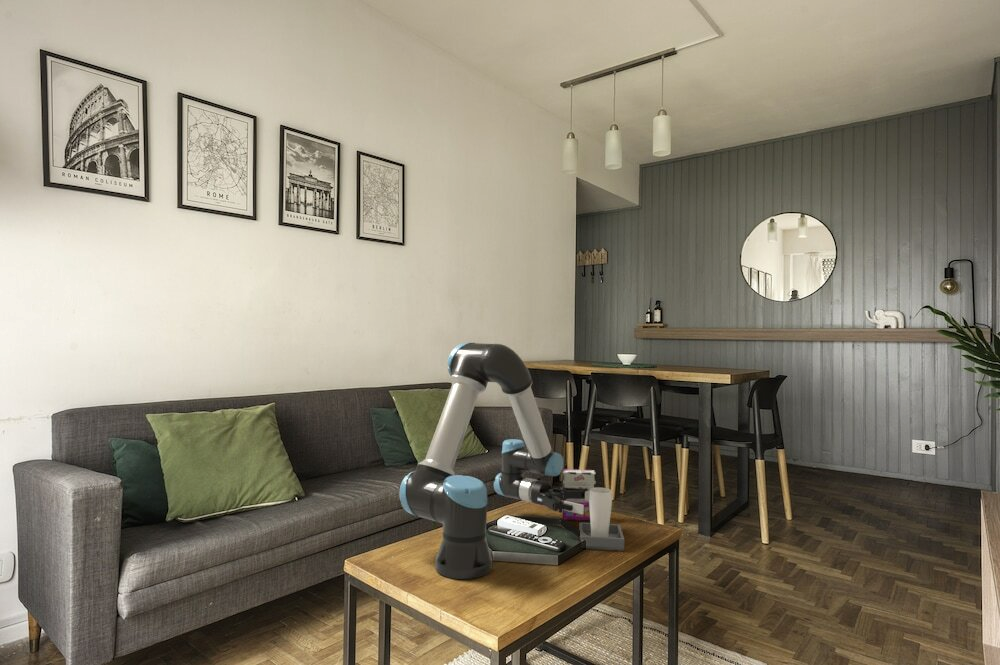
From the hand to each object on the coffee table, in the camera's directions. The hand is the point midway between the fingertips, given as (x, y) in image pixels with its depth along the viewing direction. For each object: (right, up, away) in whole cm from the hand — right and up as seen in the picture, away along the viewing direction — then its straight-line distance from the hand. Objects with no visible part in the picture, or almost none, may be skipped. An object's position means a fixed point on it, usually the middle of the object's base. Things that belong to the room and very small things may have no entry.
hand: (593, 504), depth 172 cm
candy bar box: (-2, -11, +20) cm, 23 cm away
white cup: (+1, -10, -2) cm, 11 cm away
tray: (+2, -11, -2) cm, 11 cm away
